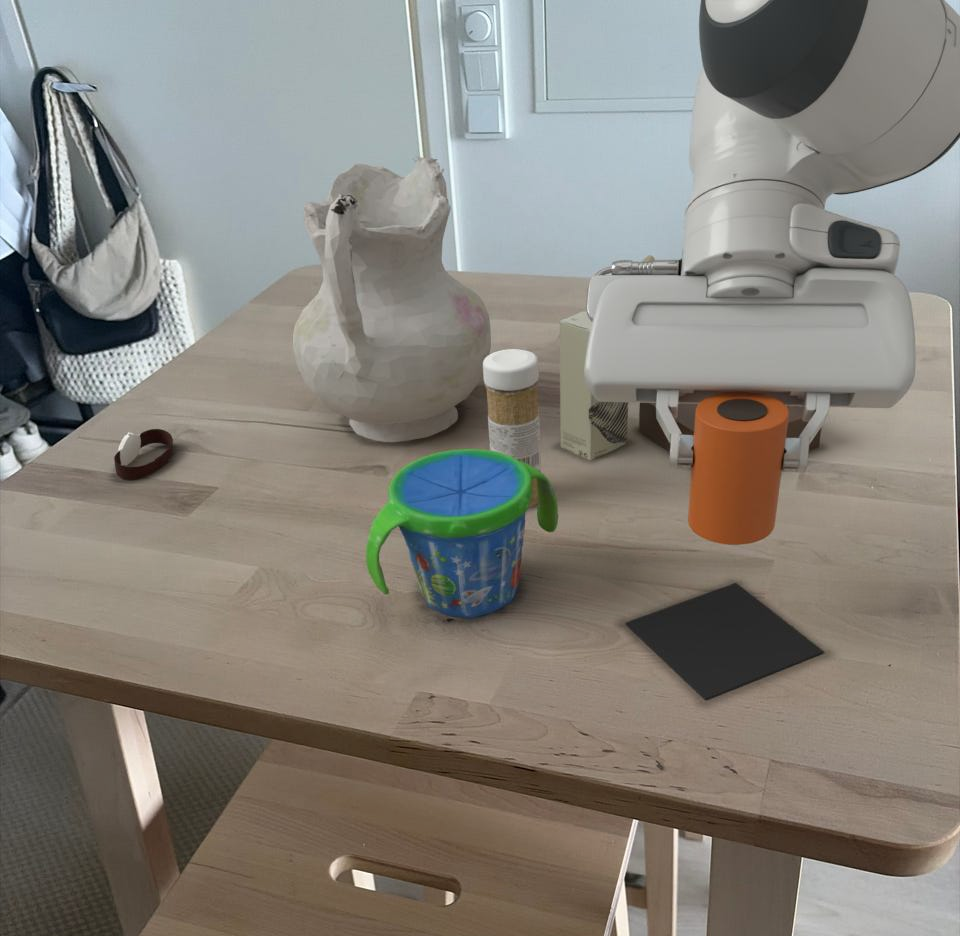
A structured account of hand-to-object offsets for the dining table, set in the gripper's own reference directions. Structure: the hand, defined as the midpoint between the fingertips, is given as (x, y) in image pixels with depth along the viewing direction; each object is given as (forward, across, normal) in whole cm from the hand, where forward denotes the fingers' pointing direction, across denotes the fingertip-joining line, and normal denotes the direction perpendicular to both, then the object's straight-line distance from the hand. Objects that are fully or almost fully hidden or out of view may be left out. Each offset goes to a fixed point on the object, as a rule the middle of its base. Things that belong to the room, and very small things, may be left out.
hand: (737, 468), depth 65 cm
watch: (-6, -56, +27) cm, 63 cm away
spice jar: (-4, -18, +24) cm, 30 cm away
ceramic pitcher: (-14, -32, +34) cm, 49 cm away
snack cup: (+7, -19, +14) cm, 25 cm away
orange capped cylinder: (+3, 0, +4) cm, 4 cm away
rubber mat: (+10, 0, +11) cm, 15 cm away
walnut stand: (-12, 0, +33) cm, 35 cm away
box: (-11, -12, +32) cm, 36 cm away
